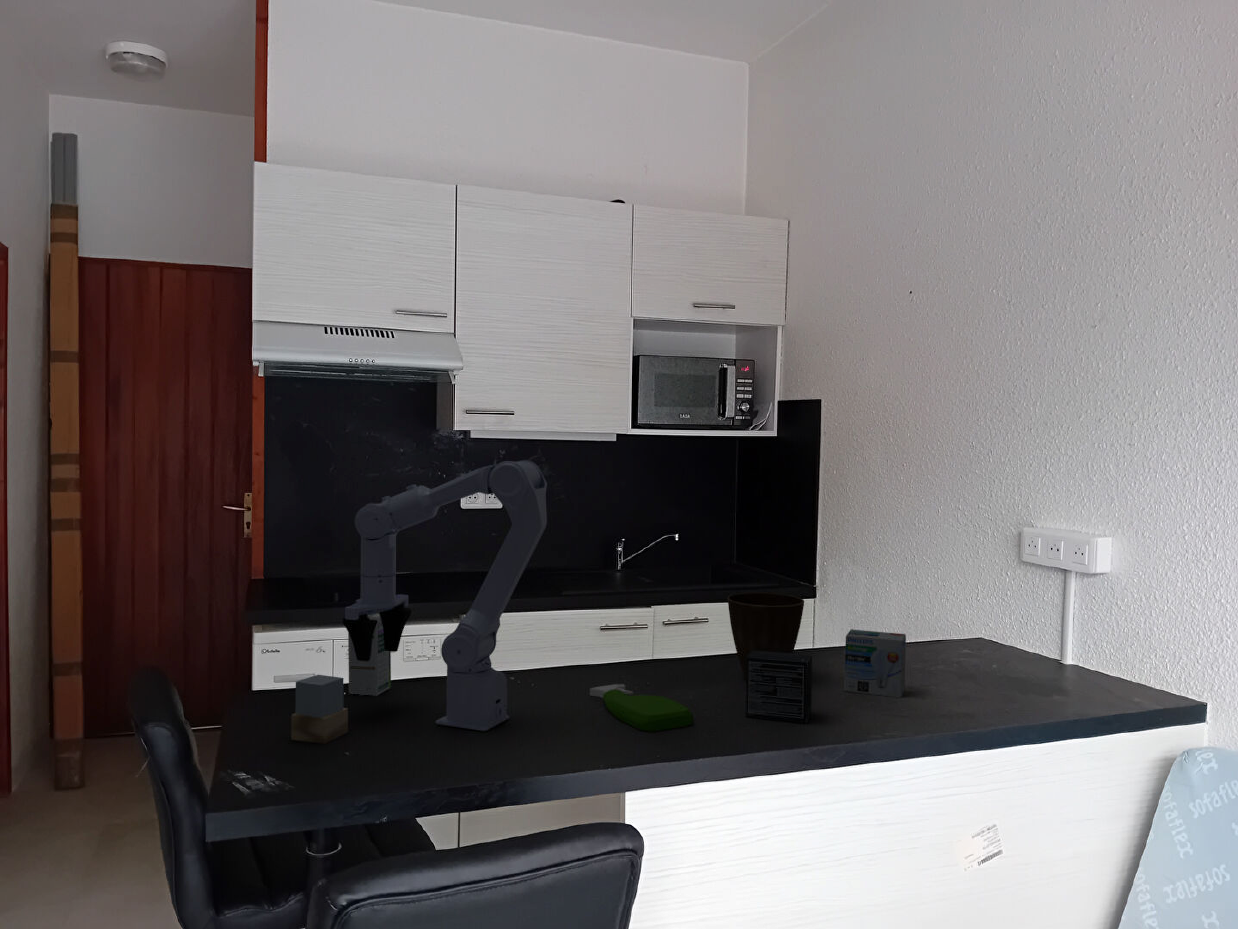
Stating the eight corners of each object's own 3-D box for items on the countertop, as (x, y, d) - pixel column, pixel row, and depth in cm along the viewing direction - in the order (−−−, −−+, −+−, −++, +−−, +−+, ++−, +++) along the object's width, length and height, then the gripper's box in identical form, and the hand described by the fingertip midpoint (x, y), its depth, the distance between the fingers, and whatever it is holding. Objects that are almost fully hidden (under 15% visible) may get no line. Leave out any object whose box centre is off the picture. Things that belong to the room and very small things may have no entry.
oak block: (347, 733, 146) (348, 708, 146) (324, 745, 140) (325, 719, 140) (315, 729, 148) (315, 704, 147) (291, 740, 142) (291, 715, 142)
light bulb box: (843, 692, 174) (844, 634, 174) (848, 683, 180) (849, 628, 180) (902, 698, 170) (903, 640, 170) (905, 689, 176) (906, 633, 176)
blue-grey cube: (343, 709, 145) (343, 678, 145) (321, 718, 140) (321, 685, 140) (318, 706, 147) (318, 674, 147) (295, 714, 142) (295, 681, 142)
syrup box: (377, 696, 166) (378, 616, 166) (347, 694, 167) (347, 614, 167) (391, 688, 172) (392, 610, 171) (362, 686, 173) (362, 609, 172)
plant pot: (817, 679, 183) (818, 598, 182) (776, 694, 172) (778, 608, 171) (753, 666, 193) (754, 590, 192) (711, 679, 181) (712, 598, 181)
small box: (812, 714, 159) (813, 653, 159) (807, 725, 153) (808, 662, 153) (751, 707, 163) (752, 648, 162) (744, 718, 156) (745, 656, 156)
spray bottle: (641, 736, 147) (576, 700, 169) (699, 727, 152) (629, 693, 174) (641, 717, 147) (576, 683, 169) (699, 709, 152) (629, 677, 174)
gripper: (385, 568, 163) (384, 644, 163) (330, 578, 150) (329, 662, 150) (418, 570, 160) (418, 648, 161) (365, 581, 147) (365, 666, 147)
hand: (377, 655), depth 155 cm, fingers open, 7 cm apart
